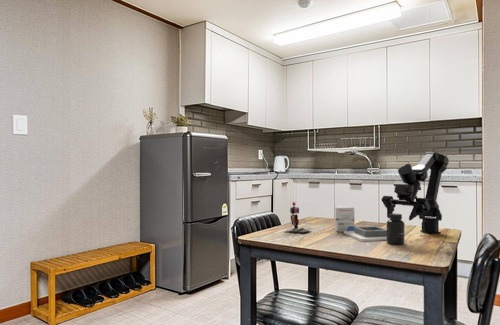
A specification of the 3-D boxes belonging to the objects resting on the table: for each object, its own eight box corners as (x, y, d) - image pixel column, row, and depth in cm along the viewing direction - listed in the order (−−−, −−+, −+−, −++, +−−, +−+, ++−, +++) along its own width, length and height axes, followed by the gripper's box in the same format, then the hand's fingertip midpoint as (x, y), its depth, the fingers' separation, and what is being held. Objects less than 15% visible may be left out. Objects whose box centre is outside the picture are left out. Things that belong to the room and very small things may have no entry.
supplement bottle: (403, 245, 139) (402, 215, 140) (385, 244, 143) (384, 214, 143) (405, 242, 145) (405, 213, 145) (388, 240, 149) (388, 212, 149)
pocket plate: (379, 232, 169) (379, 224, 169) (400, 239, 151) (400, 231, 151) (343, 233, 166) (343, 225, 166) (361, 241, 148) (361, 232, 148)
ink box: (352, 230, 175) (352, 206, 175) (354, 231, 170) (354, 207, 170) (335, 229, 175) (335, 206, 176) (336, 231, 170) (336, 207, 171)
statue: (284, 234, 170) (280, 203, 171) (292, 231, 178) (288, 201, 179) (305, 234, 164) (300, 202, 165) (312, 230, 172) (308, 200, 173)
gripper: (383, 177, 157) (370, 204, 149) (426, 178, 143) (414, 207, 135) (392, 194, 162) (380, 220, 154) (434, 196, 148) (423, 226, 140)
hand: (398, 218), depth 146 cm, fingers open, 9 cm apart
